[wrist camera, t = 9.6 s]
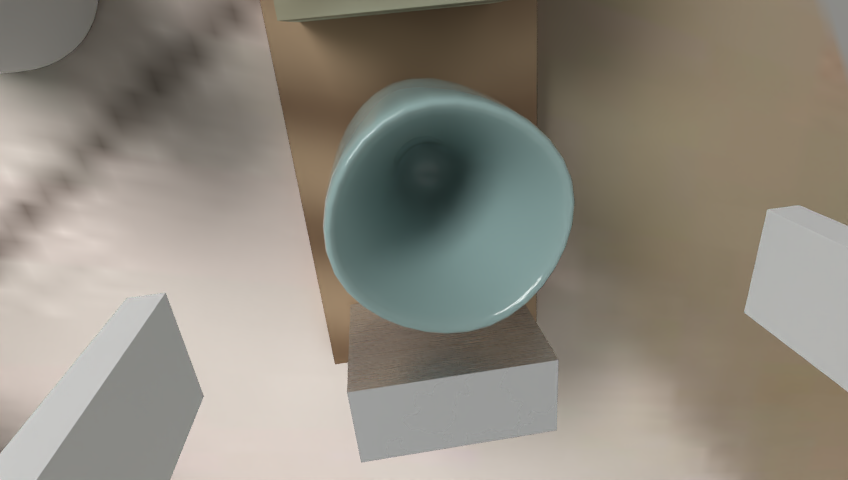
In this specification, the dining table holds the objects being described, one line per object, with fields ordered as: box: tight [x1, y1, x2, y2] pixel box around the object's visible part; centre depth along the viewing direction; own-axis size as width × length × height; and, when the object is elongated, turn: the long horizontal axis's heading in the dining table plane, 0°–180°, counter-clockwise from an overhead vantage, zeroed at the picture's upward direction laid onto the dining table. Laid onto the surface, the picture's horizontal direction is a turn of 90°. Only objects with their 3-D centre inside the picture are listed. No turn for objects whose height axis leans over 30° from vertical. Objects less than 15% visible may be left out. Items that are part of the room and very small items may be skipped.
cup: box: [323, 77, 575, 333], centre depth 19 cm, size 8×8×10 cm
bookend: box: [347, 303, 558, 462], centre depth 24 cm, size 4×9×7 cm, turn 95°
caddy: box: [260, 0, 537, 364], centre depth 20 cm, size 28×12×9 cm, turn 5°
